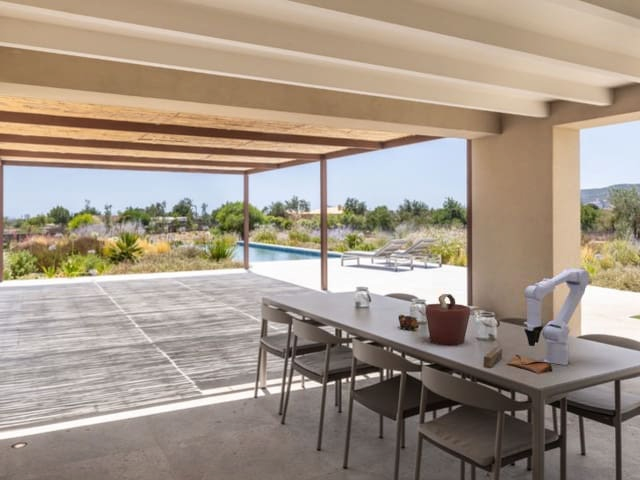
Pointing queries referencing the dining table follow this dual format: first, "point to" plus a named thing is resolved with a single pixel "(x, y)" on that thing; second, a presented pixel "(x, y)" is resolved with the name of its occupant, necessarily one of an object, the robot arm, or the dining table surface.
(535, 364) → the sunglasses case
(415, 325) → the decorative turtle
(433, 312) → the bucket
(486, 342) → the dining table surface
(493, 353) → the stop bar
